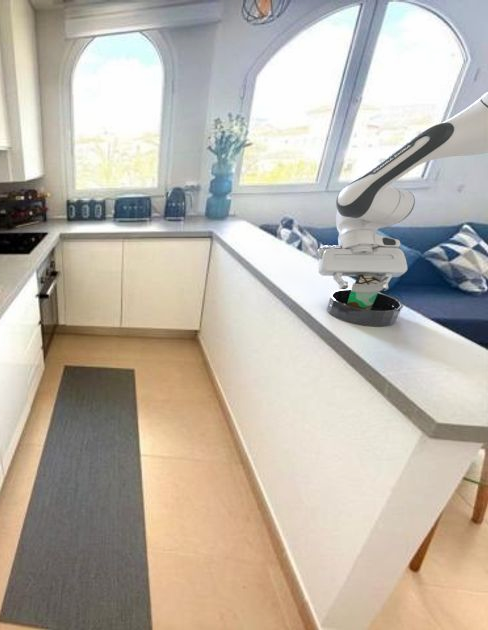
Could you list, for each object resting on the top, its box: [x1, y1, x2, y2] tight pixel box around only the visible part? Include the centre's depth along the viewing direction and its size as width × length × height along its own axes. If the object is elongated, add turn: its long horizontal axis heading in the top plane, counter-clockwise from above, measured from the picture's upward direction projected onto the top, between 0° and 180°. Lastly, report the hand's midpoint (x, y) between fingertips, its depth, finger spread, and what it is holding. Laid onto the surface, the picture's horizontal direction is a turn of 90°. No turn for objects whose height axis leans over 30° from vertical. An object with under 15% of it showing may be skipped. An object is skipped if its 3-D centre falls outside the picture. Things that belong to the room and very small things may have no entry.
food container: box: [347, 272, 384, 310], centre depth 95 cm, size 12×6×10 cm, turn 136°
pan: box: [326, 288, 404, 328], centre depth 97 cm, size 16×16×4 cm
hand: (363, 289), depth 97 cm, fingers open, 8 cm apart
